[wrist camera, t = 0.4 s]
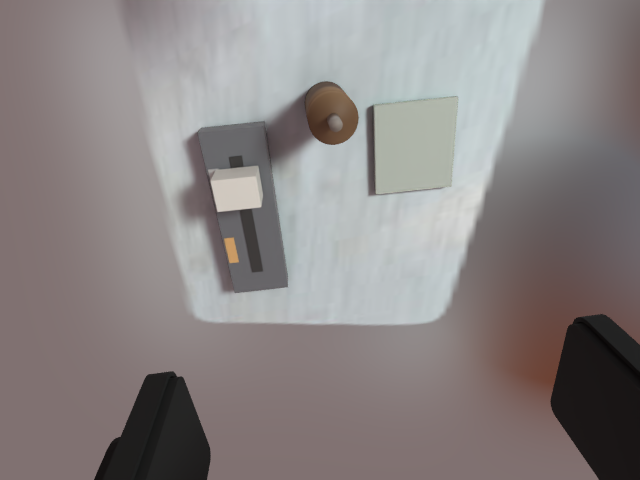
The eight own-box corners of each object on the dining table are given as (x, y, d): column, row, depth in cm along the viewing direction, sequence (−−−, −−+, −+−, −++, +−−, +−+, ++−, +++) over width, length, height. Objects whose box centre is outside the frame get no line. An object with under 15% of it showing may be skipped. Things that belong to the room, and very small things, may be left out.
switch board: (201, 127, 38) (197, 133, 36) (264, 121, 38) (263, 126, 36) (236, 282, 47) (234, 293, 45) (287, 277, 47) (287, 287, 45)
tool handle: (302, 83, 37) (306, 100, 29) (345, 79, 37) (361, 94, 29) (307, 127, 39) (312, 154, 31) (347, 123, 39) (363, 148, 31)
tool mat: (373, 104, 38) (374, 105, 37) (455, 96, 38) (458, 97, 38) (375, 192, 42) (376, 194, 42) (449, 184, 42) (451, 186, 42)
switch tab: (215, 169, 38) (210, 181, 35) (258, 165, 38) (255, 176, 35) (222, 199, 39) (217, 211, 36) (263, 194, 39) (261, 207, 36)
